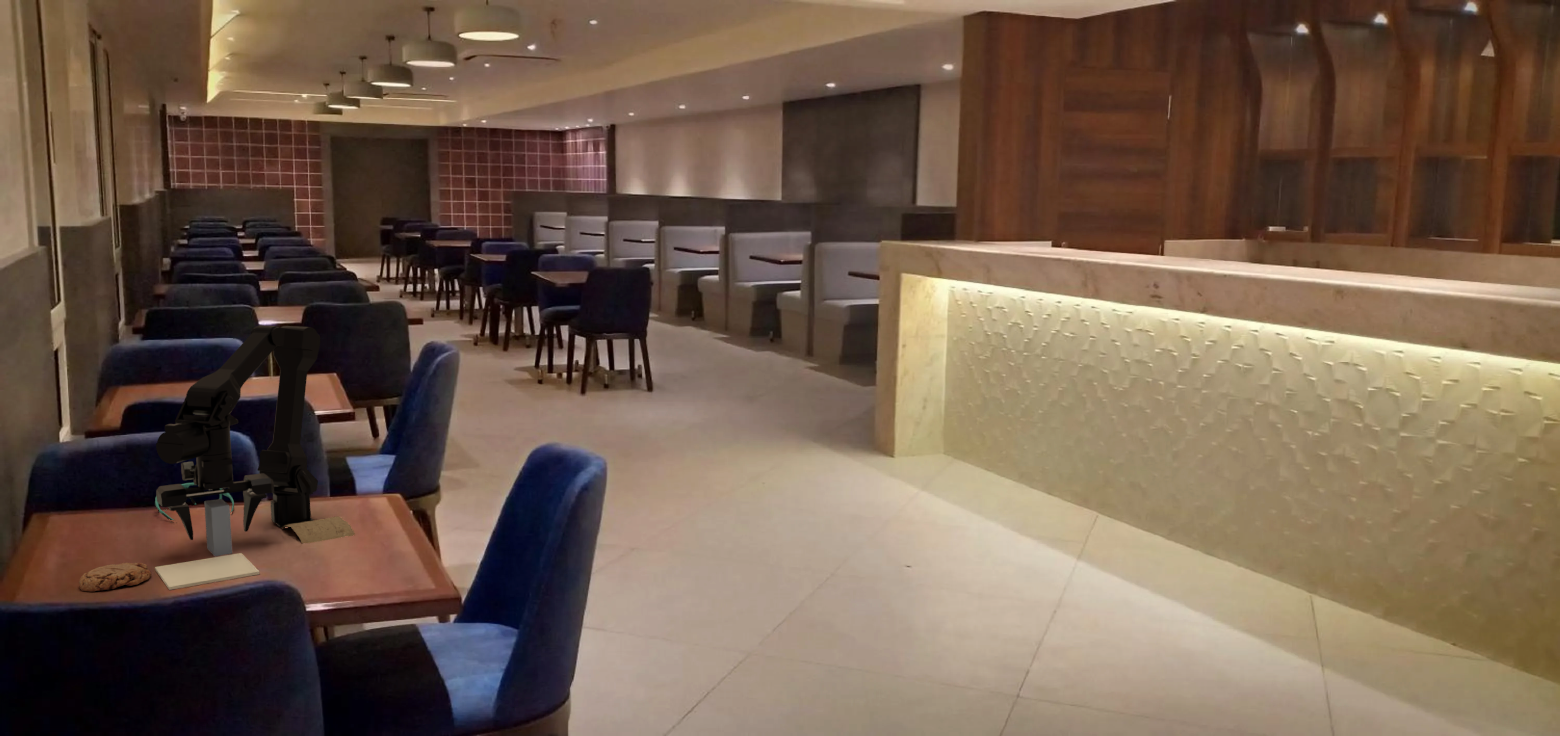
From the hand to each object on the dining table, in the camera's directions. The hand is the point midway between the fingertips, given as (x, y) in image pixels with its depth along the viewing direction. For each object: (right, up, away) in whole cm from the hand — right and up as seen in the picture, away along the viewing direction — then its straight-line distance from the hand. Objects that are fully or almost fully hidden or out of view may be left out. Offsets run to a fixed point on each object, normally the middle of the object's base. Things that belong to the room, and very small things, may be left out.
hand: (218, 535), depth 211 cm
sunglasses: (-18, 0, +27) cm, 32 cm away
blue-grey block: (0, -3, 0) cm, 3 cm away
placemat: (+4, -5, -12) cm, 13 cm away
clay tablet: (+13, -2, +13) cm, 18 cm away
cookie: (-9, -6, -17) cm, 20 cm away
